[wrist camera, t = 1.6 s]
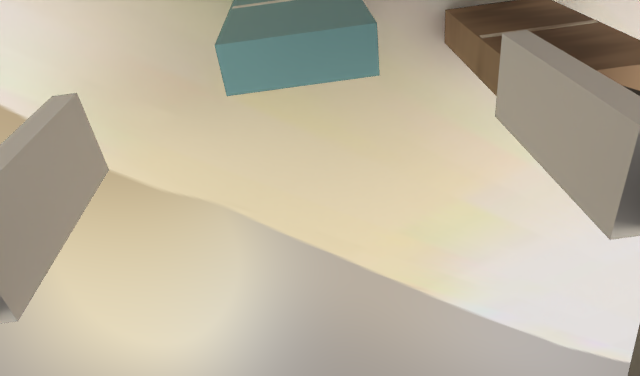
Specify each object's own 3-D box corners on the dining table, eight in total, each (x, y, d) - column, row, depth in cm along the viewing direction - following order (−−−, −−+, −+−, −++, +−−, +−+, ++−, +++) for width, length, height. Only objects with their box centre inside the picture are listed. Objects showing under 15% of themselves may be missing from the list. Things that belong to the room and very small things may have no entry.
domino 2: (543, -5, 29) (681, 58, 19) (539, 30, 30) (666, 106, 20) (445, 9, 29) (529, 78, 19) (444, 43, 30) (524, 125, 20)
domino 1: (343, -31, 28) (376, 21, 17) (346, 6, 29) (379, 75, 19) (240, -16, 28) (214, 44, 18) (247, 20, 29) (227, 96, 19)
